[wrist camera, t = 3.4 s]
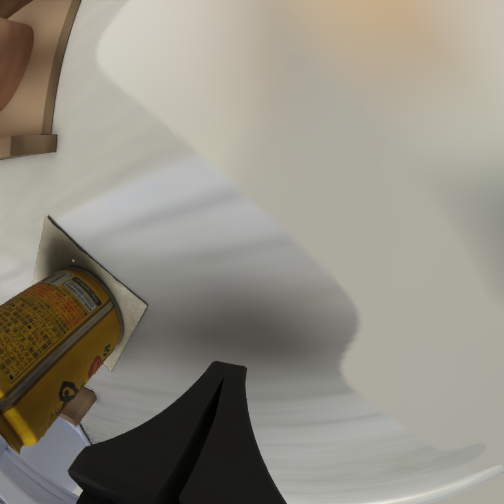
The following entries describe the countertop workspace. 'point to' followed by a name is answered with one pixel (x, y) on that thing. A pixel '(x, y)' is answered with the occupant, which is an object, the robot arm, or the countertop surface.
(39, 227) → the countertop surface
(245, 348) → the countertop surface
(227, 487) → the robot arm
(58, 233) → the condiment
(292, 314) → the countertop surface
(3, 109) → the caddy
